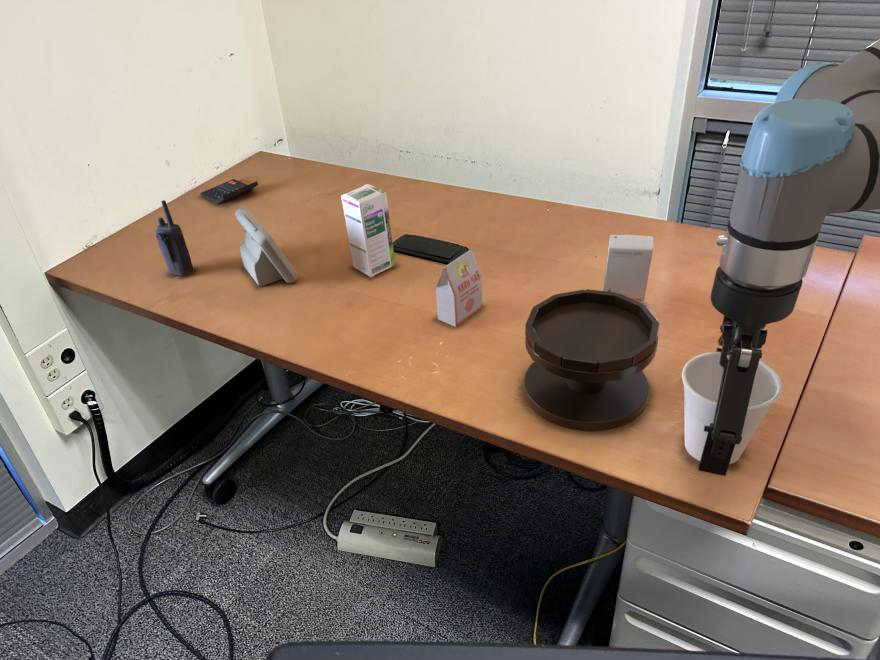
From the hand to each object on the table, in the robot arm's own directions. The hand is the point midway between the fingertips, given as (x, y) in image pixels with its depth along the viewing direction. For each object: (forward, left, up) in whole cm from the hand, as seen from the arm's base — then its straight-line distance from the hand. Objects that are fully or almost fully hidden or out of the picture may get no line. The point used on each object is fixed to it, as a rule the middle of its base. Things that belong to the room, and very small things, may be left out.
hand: (715, 430), depth 80 cm
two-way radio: (+95, -22, -3) cm, 97 cm away
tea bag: (+38, -21, -3) cm, 43 cm away
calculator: (+105, -56, -3) cm, 119 cm away
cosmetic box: (+14, -27, -3) cm, 31 cm away
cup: (0, 0, -3) cm, 3 cm away
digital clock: (+77, -27, -3) cm, 82 cm away
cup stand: (+16, -7, -3) cm, 18 cm away
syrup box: (+58, -32, -3) cm, 66 cm away
